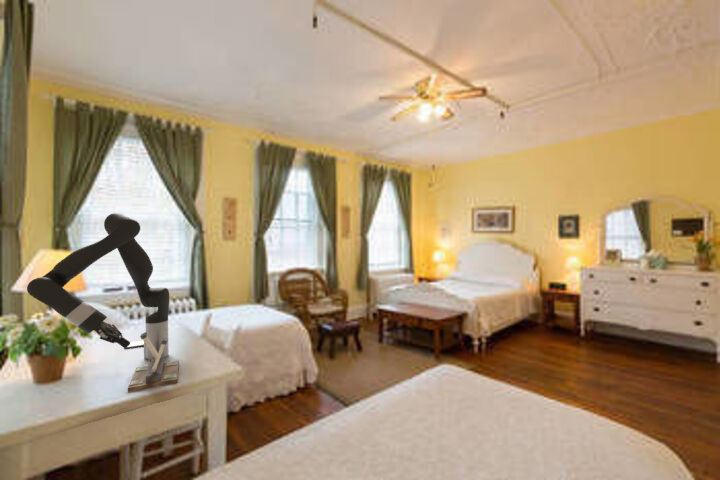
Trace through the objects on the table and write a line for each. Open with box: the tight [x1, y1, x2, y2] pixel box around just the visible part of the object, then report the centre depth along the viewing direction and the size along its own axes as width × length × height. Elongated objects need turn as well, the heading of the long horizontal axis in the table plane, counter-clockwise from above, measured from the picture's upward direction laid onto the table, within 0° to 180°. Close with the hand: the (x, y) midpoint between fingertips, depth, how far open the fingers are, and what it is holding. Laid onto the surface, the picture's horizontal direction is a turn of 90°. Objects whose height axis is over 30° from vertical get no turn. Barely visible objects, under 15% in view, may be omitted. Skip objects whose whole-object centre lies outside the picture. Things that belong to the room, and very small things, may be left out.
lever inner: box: [139, 331, 158, 360], centre depth 137 cm, size 2×4×13 cm, turn 27°
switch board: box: [127, 357, 180, 393], centre depth 132 cm, size 16×21×4 cm
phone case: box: [123, 340, 144, 350], centre depth 171 cm, size 9×2×16 cm
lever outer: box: [151, 337, 169, 373], centre depth 126 cm, size 2×4×13 cm, turn 28°
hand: (128, 345), depth 121 cm, fingers closed
